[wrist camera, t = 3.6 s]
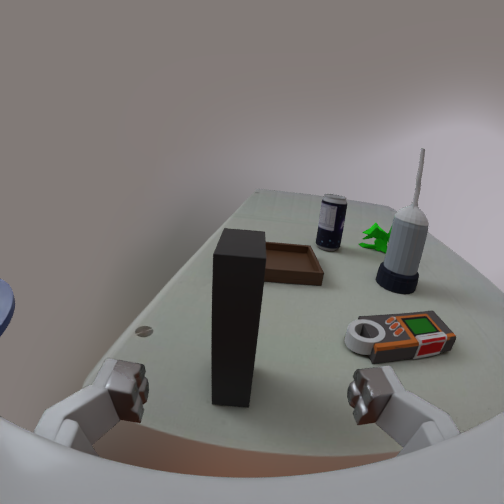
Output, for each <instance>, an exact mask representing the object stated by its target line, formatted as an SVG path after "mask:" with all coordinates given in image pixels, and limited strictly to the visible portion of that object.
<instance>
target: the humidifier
mask: <svg viewBox="0 0 504 504" xmlns="http://www.w3.org/2000/svg"><path fill="white" fill-rule="evenodd" d="M424 154H425V149H421V154H420V162H419V168H418V173H417V179H416V188H415V194H414V198H413V202H412V204H411V205H410V206H407V207H404V208H402V209H400V210H399V211H398V212H397V213H396V214H395V217H394V219H393V224H392V229H391V234H390V238H389V243H388V247H387V252H386V256H385V260H384V262H382V263H381V264H380V267H379V269H378V273H377V277H376V281H377V283H378V284H379V285H380V286H382V287H383V288H385V289H387V290H389V291H392V292H395V293H400V294H410V293H413V292H414V291H415V289H416V286H417V283H418V278H419V274H418V272H417V270H418V267H419V263H420V260H421V256H422V252H423V248H424V244H425V240H426V236H427V232H428V220H427V218H426V216H425V214H424V213H423V212H422V211H421V210H420V209H419V208H418V198H419V194H420V186H421V176H422V171H423V164H424Z"/></svg>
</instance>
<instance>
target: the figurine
mask: <svg viewBox="0 0 504 504" xmlns="http://www.w3.org/2000/svg"><path fill="white" fill-rule="evenodd" d="M394 217H395V216H394ZM391 229H392V227H391ZM391 229H390V231H389V233H388V234H387V233H386V232H385V231H383V230H382V229H381V228H380V227H379V226H378V224H377V223H375V224H374V225H373V226H372V227H371V228H370V229H368V230H366V231H364V232H363V233H365V234H368V236H366V237H364V238H363V239H369V238H373V237H374V238H376V240H375V241H374V242H375V245H371V244H365V243H360V244H359V245H360V246H362V247H365V248H371V249H375V250H377V251H380V250H381V251H382V252H384V253H386V252H387V241H388V243H389V238H390V234H391Z"/></svg>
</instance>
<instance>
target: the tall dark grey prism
mask: <svg viewBox="0 0 504 504" xmlns="http://www.w3.org/2000/svg"><path fill="white" fill-rule="evenodd" d="M266 259H267V258H266V242H265V232H263V231H251V230H239V229H227V228H224V230H223V232H222V235H221V237H220V240H219V242H218V244H217V247H216V249H215V251H214V254H213V282H212V404H217V405H226V406H237V407H249V402H250V394H251V386H252V378H253V370H254V362H255V354H256V346H257V338H258V329H259V321H260V312H261V304H262V295H263V286H264V277H265V268H266Z"/></svg>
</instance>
